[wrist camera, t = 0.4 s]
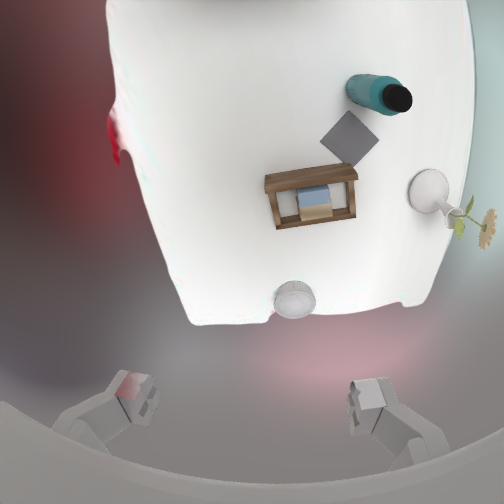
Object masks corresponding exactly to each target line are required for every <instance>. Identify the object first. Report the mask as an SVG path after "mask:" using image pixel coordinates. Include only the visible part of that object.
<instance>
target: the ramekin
mask: <svg viewBox="0 0 504 504" xmlns="http://www.w3.org/2000/svg"><path fill="white" fill-rule="evenodd" d="M315 306H316V300H315V297H314V296H313V294H312V291H311V289H310V287H309V286H308V285H307V284H305V283H303V282H299V281H291V282H287V283H285V284H284V285H282V286H281V287H280V288H279V289H278V292H277V295H276V299H275V301H274V309H275V311H276V312H277V313H278V314H279V315H281V316H283V317H285V318H289V319H296V318H302V317H304V316H307V315H308V314H310V313H311V312H312V311H313V310H314V308H315Z"/></svg>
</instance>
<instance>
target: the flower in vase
mask: <svg viewBox="0 0 504 504" xmlns="http://www.w3.org/2000/svg"><path fill="white" fill-rule="evenodd" d="M448 193H449V185H448V181H447V179H446V177H445V175H444V174H443V173H442V172H440V171H438V170H436V169H428V170H425V171H423V172H421V173H420V174H418V175H417V176H416V178H415V179H414V180H413V182H412V184H411V187H410V192H409V198H410V202H411V204H412V206H413V207H414V208H415V209H416V210H417V211H419V212H422V213H427V214H428V213H433V212H435V211H437V210H438V209H440V210H441V211H442V212H443V214H444V216H445V224H446V226H447V228H449V229H454V230H455V233H456V235H457V237H458V238H459V239H460V238H461V235H462V233H463V231H464V228H465V226H464V223H463V218H464V217H468V218H469V219H471V220H472V221H473V222H475V223H476V224H478V225H479V226H480V227H481V232H480V234H479V246H480V248H482V249H483V250H485V249H486V243H487V244H488V246H490V243H491V240H492V235H494V234H495V233H496V230H495V229H494V227H495V226H496V222H495V221H496V219H497V216H495V210H493V209H490V210H489V211H488V212H487V214H486V216H485V218H484V221H483V223H482V225H480V224H479V223H477V222H476V221H474V220H473V219H472V218H470V217H469V216H467V214H468V212H469V211H470V209H471V208H472V205H473V201H474V199H473V196H472V199H471V201H470V203H469V204H468V206H467V208H466V215H464V212H463V210H462V209H461V208H459V207H455V208H454V207H452V206H450V205H449V204H448V203H447V202H446V200H447V197H448Z"/></svg>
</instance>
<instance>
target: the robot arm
mask: <svg viewBox="0 0 504 504" xmlns="http://www.w3.org/2000/svg"><path fill="white" fill-rule="evenodd" d="M154 382H155V381H154V379H153V377H152V376H150V375H145V374H140V373H135V372H129V371H124V370H120V371H118V373H117V374H116V376H115V378H114V379H113V380H112V382H111V383H110V385H109V386H108V388H107V389H106V391H105V392H104V393H100V394H97V395H95V396H93V397H91V398H89V399H87V400H85V401H83V402H81V403H80V404H78V405H75V406H73V407H71V408H69V409H67V410H65V411H63V412H62V414H61V415H60V416H59V418H58V419H57V421H56V422H55V423H54V425H53V426H52V428H51V429H49V428H47V427H46V426H44V425H42V424H40V423H38V422H36V421H34V420H33V419H31V418H30V417H28V416H26V415H25V414H23V413H22V412H20V411H18V410H16V409H15V408H14V407H12V406H11V405H9V404H8V403H6V402H4V401H0V504H504V428H502V429H500V430H499V431H497V432H495V433H493V434H491V435H489V436H487V437H485V438H483V439H481V440H479V441H477V442H475V443H472V444H470V445H468V446H465V447H463V448H461V449H459V450H456V451H453V452H451V451H450V448H449V446H448V443H447V441H446V438H445V436H444V434H443V431H442V430H441V429H440V428H438V427H437V426H435V425H434V424H432V423H431V422H429V421H428V420H426V419H425V418H423V417H421V416H420V415H419V414H417V413H416V412H414V411H413V410H411V409H410V408H408V407H407V406H405V405H404V404H399V402H398V399H397V397H396V394H395V392H394V389H393V387H392V384H391V382H390V379H389V378H388V377H387V376H386V377H380V378H372V379H365V380H356V381H352V382H351V385H350V390H351V392H350V394H348V397H347V404H346V408H347V415H348V416H349V417H350V418H351V420H350V423H349V424H350V430H351V435H352V436H358V435H366V434H371V435H372V436H373V437H374V438H375V439H376V440H377V441H378V442H379V443H380V444H381V445H382V446H383V447H384V448H385V449H386V450H387V451H388V452H389V453H390V454H391V455H392V456H393V457H394V458H396V460H395V462H394V463H393V464H392V466H391V467H390V468H389V469H388V472H385V473H380V474H376V475H371V476H366V477H360V478H353V479H347V480H339V481H330V482H319V483H303V484H254V483H253V484H252V483H239V482H227V481H218V480H210V479H204V478H197V477H191V476H185V475H181V474H176V473H171V472H166V471H162V470H158V469H154V468H150V467H146V466H143V465H139V464H136V463H132V462H129V461H126V460H123V459H120V458H117V457H114V456H111V455H110V453H109V451H108V450H107V449H106V447H105V446H104V444H105V443H106V442H108V441H109V440H110V439H112V438H113V437H115V436H116V435H117V434H118V433H120V432H121V431H123V430H124V429H125V428H126V427H128V426H129V425H131V423H134V424H138V425H143V426H149V424H150V422H151V419H152V417H153V414H152V411H153V410H154V409H156V408H157V406H158V403H159V392H158V389H157V388H156V387H155V386H154V385H153V384H154Z"/></svg>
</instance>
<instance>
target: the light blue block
mask: <svg viewBox="0 0 504 504" xmlns="http://www.w3.org/2000/svg"><path fill="white" fill-rule="evenodd" d="M297 194H298V199H299V205H300V208H302V207H308V206H314V205H321V204H328V203H331V202H330V193H329V188H328V185H327V184H325V185H318V186H311V187H305V188H299V189H297Z"/></svg>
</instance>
